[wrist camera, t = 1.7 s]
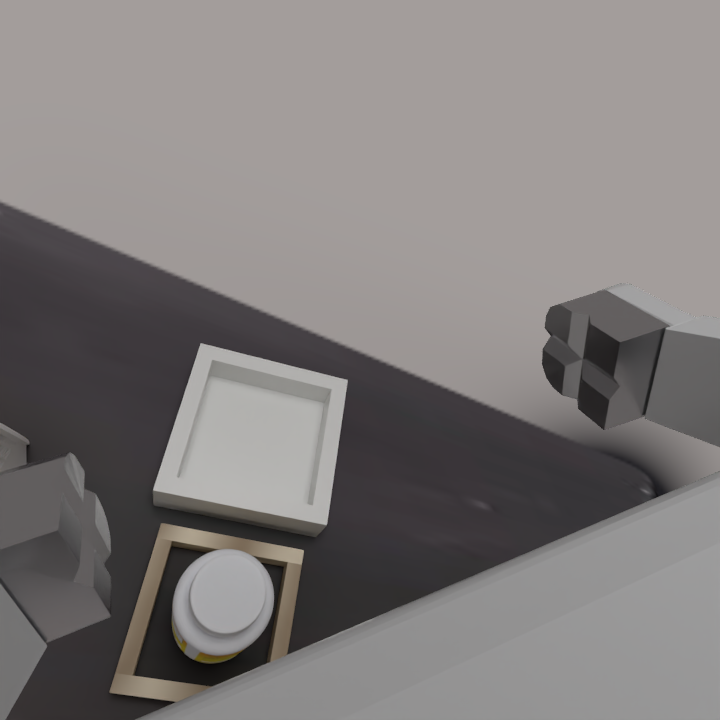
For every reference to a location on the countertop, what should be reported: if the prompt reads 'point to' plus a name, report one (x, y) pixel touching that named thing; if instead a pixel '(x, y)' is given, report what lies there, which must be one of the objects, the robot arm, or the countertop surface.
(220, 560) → the supplement bottle
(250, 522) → the tray
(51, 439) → the countertop surface
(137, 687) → the wooden frame
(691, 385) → the robot arm
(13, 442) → the skyscraper
